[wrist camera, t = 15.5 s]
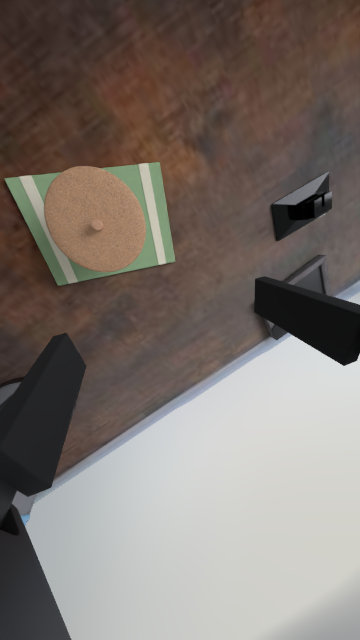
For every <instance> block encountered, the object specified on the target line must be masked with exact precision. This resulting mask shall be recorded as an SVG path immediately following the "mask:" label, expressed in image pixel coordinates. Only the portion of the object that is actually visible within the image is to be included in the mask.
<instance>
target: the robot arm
mask: <svg viewBox="0 0 360 640" xmlns="http://www.w3.org/2000/svg"><path fill="white" fill-rule="evenodd" d="M254 312H255V313H257V314H258V315H260V316H262V317H263V318H265V319H267V320H268V321H270V322H272V323H273V324H275V325H277V326H278V327H280V328H282V329H283V330H285V331H287V332H288V333H290V334H292V335H293V336H295V337H297V338H298V339H300V340H302V341H303V342H305V343H307V344H308V345H310V346H312V347H313V348H315V349H317V350H318V351H320V352H322V353H323V354H325V355H327V356H328V357H330V358H332V359H334V360H335V361H337V362H338V363H340V364H342V365H343V366H345V365H347V364H350V363H352V362H355V361H357V359H358V356H359V354H360V305H358V304H355V303H352V302H349V301H345V300H342V299H338V298H335V297H332V296H328V295H325V294H322V293H318V292H315V291H312V290H308V289H305V288H302V287H298V286H295V285H292V284H288V283H285V282H282V281H278V280H275V279H272V278H268V277H265V276H264V277H260V278H257V279H255V307H254ZM85 369H86V364H85V363H84V361H83V359H82V358H81V356H80V354H79V353H78V351H77V349H76V348H75V346H74V344H73V343H72V341H71V339H70V338H69V336H68V334H67V333H64V334H60V335H57V336H53V338H52V339H51V340H50V342H49V343H48V345H47V346H46V348H45V349H44V350H43V352H42V353H41V355H40V356H39V358H38V359H37V360H36V362H35V363H34V365H33V366H32V368H31V369H30V370H29V372H28V373H27V375H26V376H25V378H18V379H14V380H11V381H8V382H6V383H4V384H2V385H0V640H71V638H70V636H69V633H68V631H67V628H66V626H65V623H64V621H63V618H62V616H61V614H60V611H59V609H58V606H57V604H56V601H55V599H54V596H53V594H52V592H51V589H50V587H49V584H48V582H47V580H46V577H45V574H44V572H43V570H42V567H41V565H40V562H39V560H38V557H37V555H36V552H35V550H34V548H33V545H32V543H31V540H30V538H29V535H28V533H27V531H26V528H25V525H26V522H27V521H28V520H29V518H30V512H31V509H32V506H33V503H34V500H35V497H36V494H37V493H39V492H41V491H44V490H46V489H49V488H51V486H52V483H53V479H54V476H55V472H56V469H57V466H58V462H59V459H60V455H61V452H62V448H63V445H64V441H65V438H66V434H67V431H68V428H69V424H70V421H71V417H72V416H73V413H74V409H75V406H76V400H77V397H78V393H79V390H80V386H81V383H82V379H83V376H84V372H85Z"/></svg>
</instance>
